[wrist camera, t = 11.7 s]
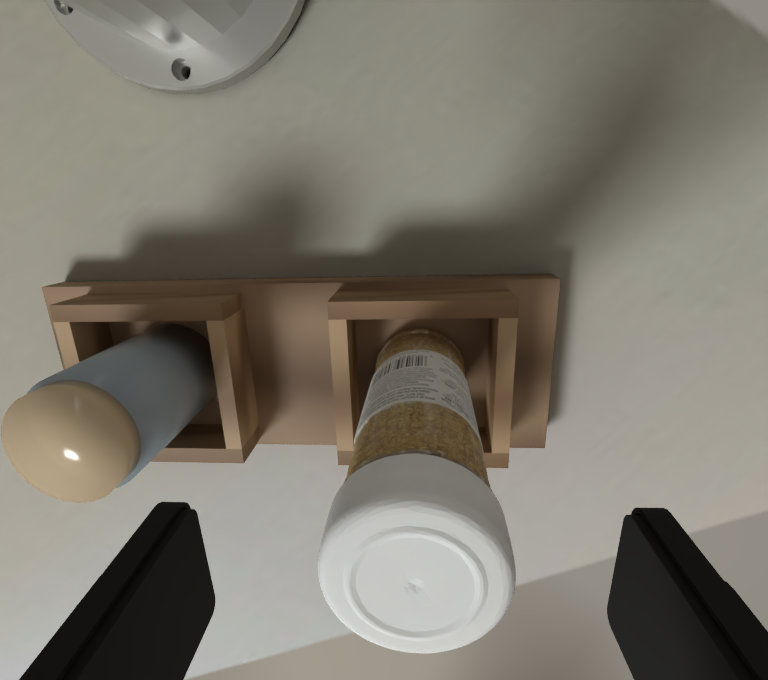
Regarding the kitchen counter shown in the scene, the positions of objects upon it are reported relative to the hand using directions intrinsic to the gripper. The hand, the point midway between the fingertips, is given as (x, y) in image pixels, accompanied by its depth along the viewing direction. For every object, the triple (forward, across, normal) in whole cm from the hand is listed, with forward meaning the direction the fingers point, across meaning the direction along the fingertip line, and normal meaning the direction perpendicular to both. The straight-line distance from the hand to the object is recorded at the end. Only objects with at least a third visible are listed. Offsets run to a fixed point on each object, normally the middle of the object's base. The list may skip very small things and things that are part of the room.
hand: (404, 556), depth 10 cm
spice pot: (+14, +12, +1) cm, 18 cm away
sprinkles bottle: (+13, -1, +1) cm, 13 cm away
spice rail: (+15, +6, +1) cm, 16 cm away
